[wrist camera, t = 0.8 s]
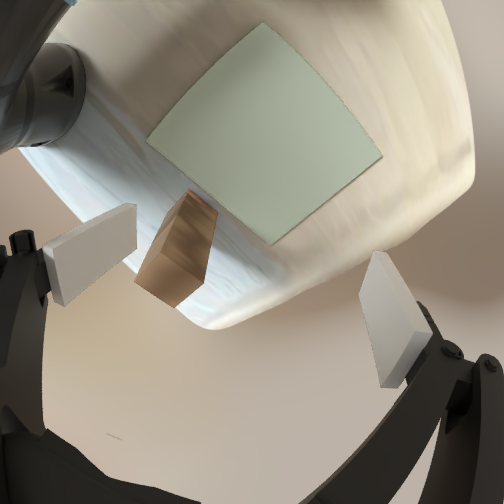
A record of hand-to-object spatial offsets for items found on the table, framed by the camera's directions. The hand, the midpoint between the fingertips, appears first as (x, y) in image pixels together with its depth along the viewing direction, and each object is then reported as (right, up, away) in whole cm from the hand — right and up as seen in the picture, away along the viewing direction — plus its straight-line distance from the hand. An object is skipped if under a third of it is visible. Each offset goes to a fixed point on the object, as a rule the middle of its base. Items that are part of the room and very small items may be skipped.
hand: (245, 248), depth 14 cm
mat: (+2, +13, +17) cm, 21 cm away
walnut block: (-8, +5, +22) cm, 24 cm away
